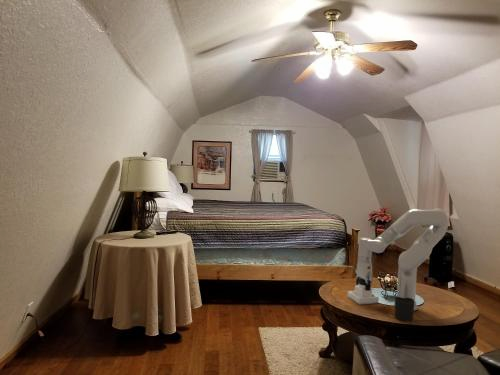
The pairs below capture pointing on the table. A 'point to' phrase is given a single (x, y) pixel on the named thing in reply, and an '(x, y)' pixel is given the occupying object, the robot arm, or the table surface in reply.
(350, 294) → the tray
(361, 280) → the medicine bottle
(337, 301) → the table surface
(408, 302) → the pen holder
